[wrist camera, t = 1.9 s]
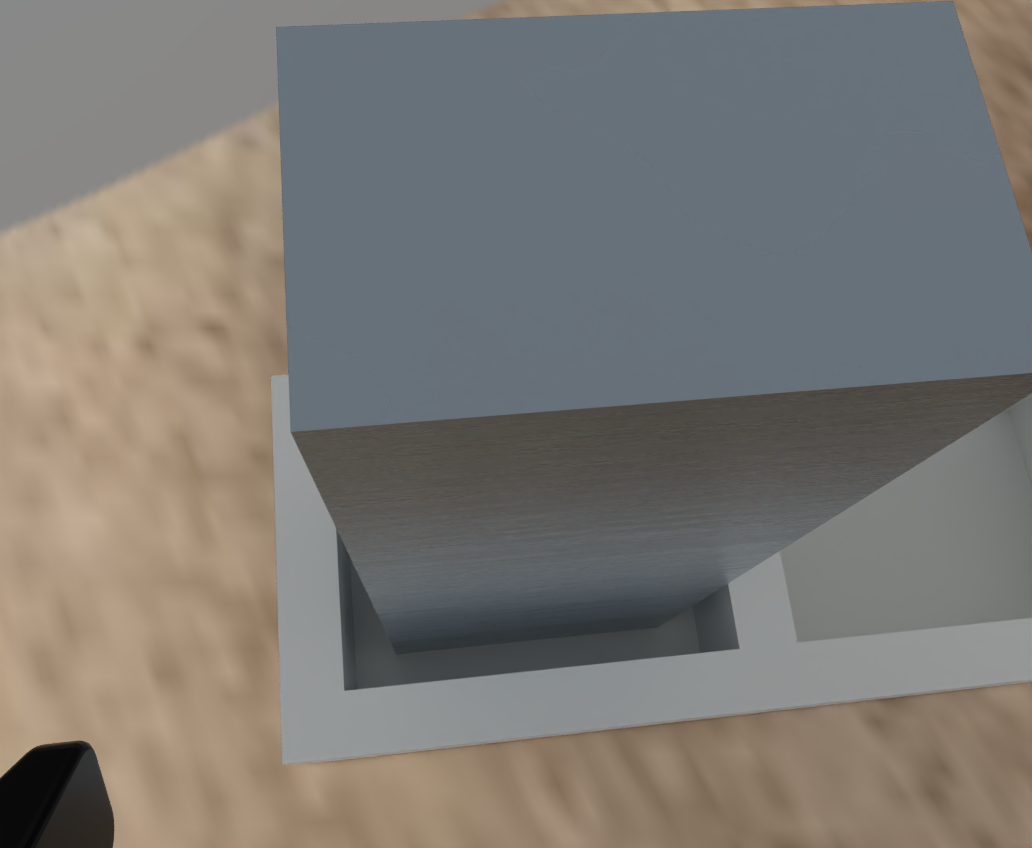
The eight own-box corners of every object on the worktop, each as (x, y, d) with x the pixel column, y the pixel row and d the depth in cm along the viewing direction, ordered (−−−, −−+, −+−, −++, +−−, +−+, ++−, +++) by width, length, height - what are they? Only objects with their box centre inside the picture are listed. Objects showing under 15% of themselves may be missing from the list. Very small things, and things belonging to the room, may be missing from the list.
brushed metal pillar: (657, 627, 19) (1068, 370, 6) (396, 654, 18) (291, 432, 6) (634, 477, 20) (952, 1, 7) (385, 499, 19) (277, 26, 7)
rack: (1428, 637, 21) (1759, 595, 15) (312, 763, 18) (259, 765, 13) (1303, 325, 23) (1553, 198, 18) (297, 402, 21) (248, 282, 15)
